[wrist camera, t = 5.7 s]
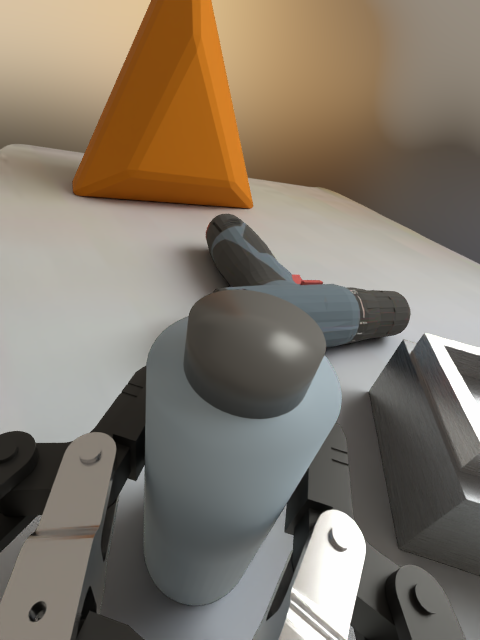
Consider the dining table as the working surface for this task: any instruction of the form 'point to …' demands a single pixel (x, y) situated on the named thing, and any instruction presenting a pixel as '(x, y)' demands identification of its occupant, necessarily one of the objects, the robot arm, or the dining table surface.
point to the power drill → (303, 287)
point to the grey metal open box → (432, 448)
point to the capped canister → (229, 435)
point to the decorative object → (169, 118)
